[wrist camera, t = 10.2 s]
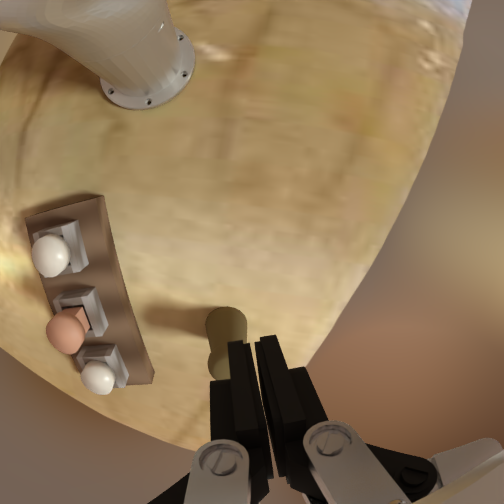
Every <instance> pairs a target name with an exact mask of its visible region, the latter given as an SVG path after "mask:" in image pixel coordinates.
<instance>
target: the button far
mask: <svg viewBox="0 0 504 504" xmlns="http://www.w3.org/2000/svg"><path fill="white" fill-rule="evenodd" d="M81 380H82V383H83V384H84V385H85V387H86V388H87V389H89V390H90V391H92V392H94V393H96V394H100V395H106V394H108V393H110V392H111V390H112V388H113V385H114V383H115V380H116V376H115V373H114V371H113V370H112V369H111V368H110V367H109V366H108V364H107V362H101V361H97V360H92V361H89V362H88V363H87V364H86V365H85V367H84V369H83V371H82V373H81Z"/></svg>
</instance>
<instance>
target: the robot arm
mask: <svg viewBox="0 0 504 504" xmlns="http://www.w3.org/2000/svg"><path fill="white" fill-rule="evenodd" d="M0 30H4V31H8V32H14V33H19V34H24V35H29V36H33V37H36V38H39V39H42V40H44V41H46V42H48V43H50V44H52V45H54V46H55V47H57V48H58V49H60V50H62V51H63V52H65V53H66V54H68V55H69V56H70V57H72V58H73V59H75V60H76V61H78V62H79V63H80V64H82V65H83V66H85V67H86V68H88V69H89V70H90V71H92V72H93V73H95V74H96V75H98V76H99V77H100V83H101V86H102V89H103V91H104V93H105V94H106V96H107V97H108V98H109V99H110V100H111V101H112V102H114V103H115V104H117V105H119V106H121V107H123V108H126V109H131V110H147V109H152V108H155V107H158V106H161V105H163V104H165V103H167V102H169V101H170V100H172V99H173V98H174V97H176V96H177V95H178V94H179V93H180V92H181V91H182V90H183V89H184V88H185V86H186V85H187V83H188V82H189V80H190V78H191V76H192V73H193V70H194V66H195V53H194V49H193V46H192V43H191V41H190V40H189V38H188V37H187V36H186V35H185V34H184V33H183V32H182V31H181V30H179V29H177V28H176V27H174V25H173V22H172V18H171V15H170V12H169V8H168V5H167V1H166V0H0ZM180 39H183V40H181V41H179V40H180ZM183 75H187V76H186V77H183ZM113 91H114V93H113V94H112V92H113ZM150 101H151V104H150V105H148V102H150ZM227 346H228V358H229V370H230V379H224V380H216V381H210V430H211V442H208V443H206V444H204V445H203V446H201V447H200V448H199V449H198V450H197V451H196V453H195V455H194V458H193V462H192V466H191V471H190V473H188V474H187V475H186V476H185V477H183V478H182V479H180V480H179V481H178V482H177V483H175V484H174V485H173V486H171V487H170V488H169V489H167V490H166V491H164V492H163V493H162V494H160V495H159V496H158V497H156V498H155V499H153V500H152V501H150V502H149V503H148V504H260V501H261V500H262V499H263V498H264V497H265V496H266V495H267V494H268V493H269V486H268V480H267V479H273V478H274V476H273V467H272V460H271V452H270V445H269V437H268V430H269V435H270V439H271V443H272V448H273V452H274V457H275V461H276V466H277V470H278V474H279V477H284V476H286V480H287V484H290V487H291V488H293V489H295V490H297V491H299V492H301V493H302V495H303V498H304V500H305V501H306V503H307V504H504V450H503V449H502V446H501V445H500V444H499V442H498V441H496V440H494V439H491V438H484V439H480V440H477V441H475V442H472V443H469V444H466V445H464V446H461V447H458V448H455V449H452V450H449V451H445V452H442V453H439V454H435V455H434V456H433V457H432V458H430V459H424V458H421V457H417V456H412V455H408V454H404V453H400V452H396V451H392V450H387V449H384V448H380V447H377V446H373V445H370V444H366V443H364V441H363V440H362V439H361V438H360V437H359V435H358V434H357V432H356V431H355V430H354V429H353V428H352V427H351V426H350V425H348V424H346V423H344V422H340V421H329V420H328V418H327V416H326V413H325V411H324V409H323V406H322V404H321V402H320V400H319V397H318V395H317V393H316V390H315V388H314V386H313V384H312V381H311V379H310V377H309V374H308V372H307V370H306V368H305V367H304V366H303V367H299V368H293V369H288V367H287V364H286V362H285V359H284V356H283V353H282V350H281V348H280V345H279V342H278V339H277V336H276V335H270V336H264V337H260V341H259V342H255V351H256V358H257V366H258V374H259V381H260V389H261V395H260V391H259V386H258V381H257V376H256V372H255V367H254V362H253V357H252V352H251V347H250V343H246V344H243V340H237V341H230V342H227ZM261 396H262V400H261ZM262 402H263V405H262ZM263 407H264V409H263ZM264 412H265V414H264ZM265 416H266V419H265ZM266 421H267V424H266ZM267 425H268V430H267Z"/></svg>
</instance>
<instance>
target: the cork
mask: <svg viewBox="0 0 504 504" xmlns="http://www.w3.org/2000/svg"><path fill="white" fill-rule="evenodd" d="M205 325H206V331H207V336H208V340H209V344H210V349H211V354H210V355H209V359H208V369H209V372H210V374H211V375H212V377H213V378H214V379H216V380H224V379H230V370H229V358H228V346H227V342H230V341H237V340H243V344H246V342H247V320H246V317H245V315H244V314H243V313H242V312H241V311H239V310H237V309H236V308H232V307H220V308H218V309H215V310H214V311H213V312H211V313H210V314H209V316H208V317H207V319H206V324H205Z"/></svg>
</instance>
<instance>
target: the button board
mask: <svg viewBox="0 0 504 504" xmlns="http://www.w3.org/2000/svg"><path fill="white" fill-rule="evenodd" d="M25 221H26V226H27V230H28V235H29V239H30V243H31V247H32V248H33V245H34V243H35V242H36V241H37V240H38V239H40V238H42V237H44V236H46V235H48V234H51V233H54V234H58V235H60V236H61V235H63V237H64V240H65V241H66V242H67V244H68V246H69V249H70V254H71V258H70V263H69V265H68V266H67V268H66V269H65V270H63V271H62V272H61V273H60V274H58V275H57V276H55V277H46V276H44V275H42V274H41V273H40V272H39V274H40V278H41V281H42V284H43V287H44V290H45V293H46V295H47V298H48V301H49V304H50V306H51V309H52V312H53V314H54V316H55V315H56V314H57V313H59V312H62V311H63V310H64V309H67V308H75V307H83V309H84V312H85V315H86V318H87V320H88V323H89V325H90V328H89V330H88V331H87V333H86V334H85V340H84V341H83V343H82V345H81V346H80V348H79V349H78V351H77V352H76V353H74V354H71V356H72V358H73V360H74V362H75V364H76V366H77V368H78V370H79V372H80V374H81V373H82V371H83V369H84V367H85V365H86V364H87V363H88V362H89V361H92V360H97V361H101V362H107V364H108V366H109V367H110V368H111V369H112V370H113V371H114V373H115V376H116V380H115V383H114V385H113V388H125V386H126V385H143V384H152V381H153V377H154V373H155V372H154V369H153V367H152V364H151V361H150V359H149V356H148V353H147V351H146V348H145V345H144V343H143V340H142V337H141V334H140V331H139V328H138V325H137V322H136V319H135V316H134V313H133V310H132V307H131V304H130V300H129V297H128V294H127V290H126V287H125V283H124V280H123V276H122V273H121V269H120V265H119V261H118V258H117V254H116V250H115V245H114V241H113V237H112V233H111V228H110V224H109V219H108V214H107V209H106V204H105V199H104V196H101V197H96V198H92V199H89V200H85V201H81V202H77V203H73V204H70V205H66V206H62V207H59V208H55V209H52V210H48V211H45V212H42V213H38V214H35V215H32V216H30V217H27V218H25Z"/></svg>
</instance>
